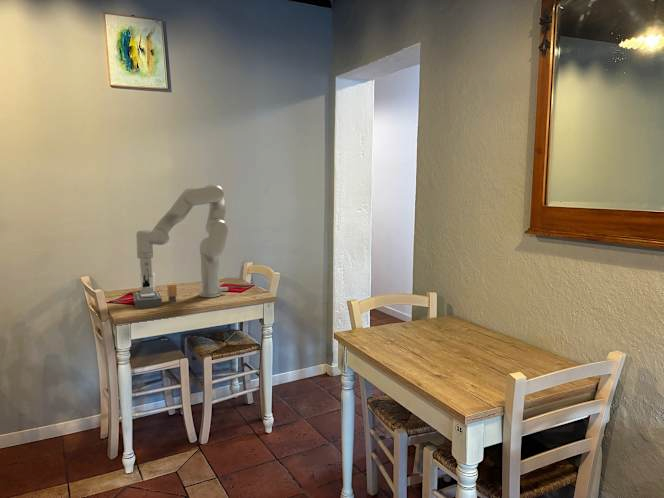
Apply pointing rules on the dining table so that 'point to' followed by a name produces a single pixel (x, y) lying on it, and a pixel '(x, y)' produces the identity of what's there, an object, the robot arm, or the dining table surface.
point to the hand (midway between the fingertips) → (146, 289)
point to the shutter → (146, 292)
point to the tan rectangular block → (171, 292)
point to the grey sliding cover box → (147, 300)
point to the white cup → (151, 280)
